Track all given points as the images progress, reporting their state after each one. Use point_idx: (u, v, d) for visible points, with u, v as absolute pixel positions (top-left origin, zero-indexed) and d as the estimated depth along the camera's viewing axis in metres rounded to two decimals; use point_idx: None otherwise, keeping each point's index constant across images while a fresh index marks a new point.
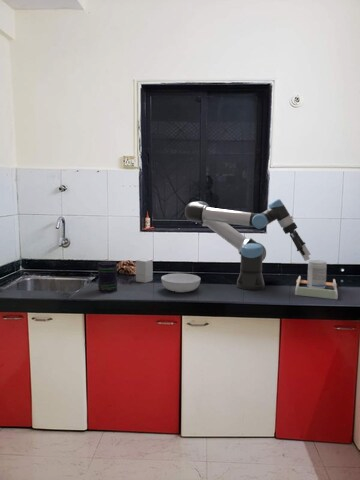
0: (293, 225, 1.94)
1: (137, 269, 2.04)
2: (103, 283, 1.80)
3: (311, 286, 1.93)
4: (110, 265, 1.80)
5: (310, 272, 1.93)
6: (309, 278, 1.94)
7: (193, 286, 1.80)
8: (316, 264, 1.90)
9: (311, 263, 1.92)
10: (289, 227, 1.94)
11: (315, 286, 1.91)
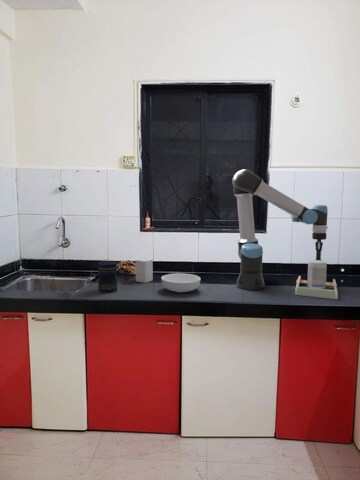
0: (324, 235, 1.99)
1: (137, 269, 2.04)
2: (103, 283, 1.80)
3: (311, 286, 1.93)
4: (110, 265, 1.80)
5: (310, 272, 1.93)
6: (309, 278, 1.94)
7: (193, 286, 1.80)
8: (316, 264, 1.90)
9: (311, 263, 1.92)
10: (320, 235, 1.98)
11: (315, 286, 1.91)
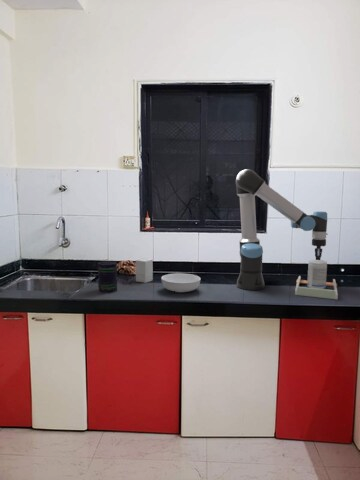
0: (324, 242, 1.97)
1: (137, 269, 2.04)
2: (103, 283, 1.80)
3: (311, 286, 1.93)
4: (110, 265, 1.80)
5: (310, 272, 1.92)
6: (309, 278, 1.93)
7: (193, 286, 1.80)
8: (316, 264, 1.89)
9: (311, 263, 1.91)
10: (319, 242, 1.97)
11: (315, 286, 1.91)
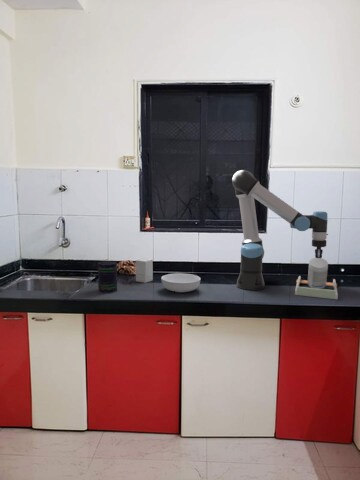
0: (324, 243, 1.93)
1: (137, 269, 2.04)
2: (103, 283, 1.80)
3: (311, 286, 1.92)
4: (110, 265, 1.80)
5: (310, 274, 1.89)
6: (309, 278, 1.91)
7: (193, 286, 1.80)
8: (317, 268, 1.84)
9: (312, 266, 1.86)
10: (320, 242, 1.92)
11: (315, 287, 1.91)
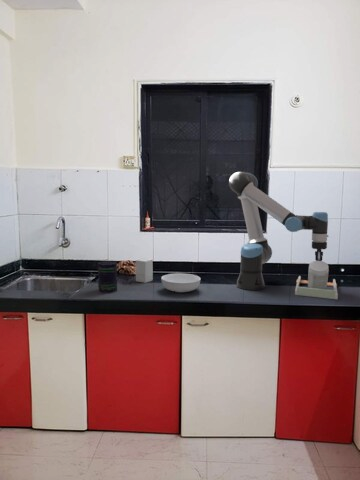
0: (324, 245, 1.84)
1: (137, 269, 2.04)
2: (103, 283, 1.80)
3: None
4: (110, 265, 1.80)
5: (310, 277, 1.81)
6: (309, 282, 1.83)
7: (193, 286, 1.80)
8: (317, 272, 1.76)
9: (312, 270, 1.78)
10: (320, 244, 1.84)
11: None
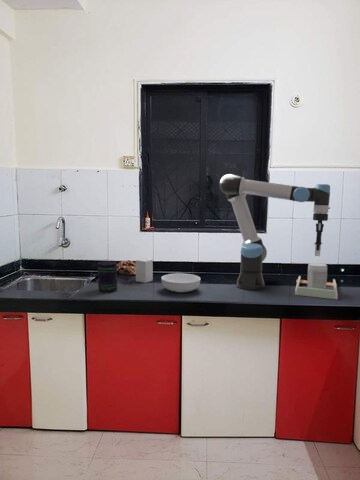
0: (325, 216, 1.88)
1: (137, 269, 2.04)
2: (103, 283, 1.80)
3: None
4: (110, 265, 1.80)
5: (310, 275, 1.84)
6: (309, 282, 1.85)
7: (193, 286, 1.80)
8: (316, 267, 1.82)
9: (311, 266, 1.83)
10: (321, 216, 1.87)
11: None
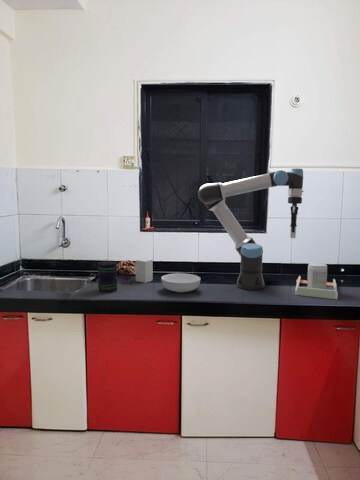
0: (299, 199, 1.96)
1: (137, 269, 2.04)
2: (103, 283, 1.80)
3: None
4: (110, 265, 1.80)
5: (310, 275, 1.84)
6: (309, 282, 1.85)
7: (193, 286, 1.80)
8: (316, 267, 1.82)
9: (311, 266, 1.83)
10: (295, 199, 1.95)
11: None
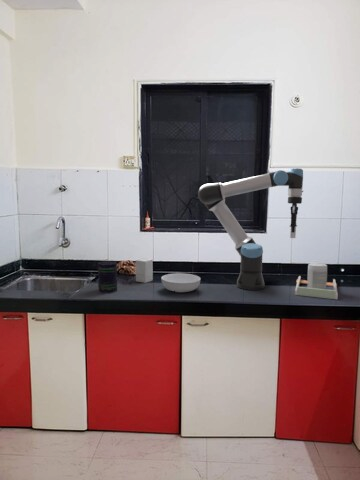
0: (299, 199, 1.96)
1: (137, 269, 2.04)
2: (103, 283, 1.80)
3: None
4: (110, 265, 1.80)
5: (310, 275, 1.84)
6: (309, 282, 1.85)
7: (193, 286, 1.80)
8: (316, 267, 1.82)
9: (311, 266, 1.83)
10: (295, 199, 1.95)
11: None
